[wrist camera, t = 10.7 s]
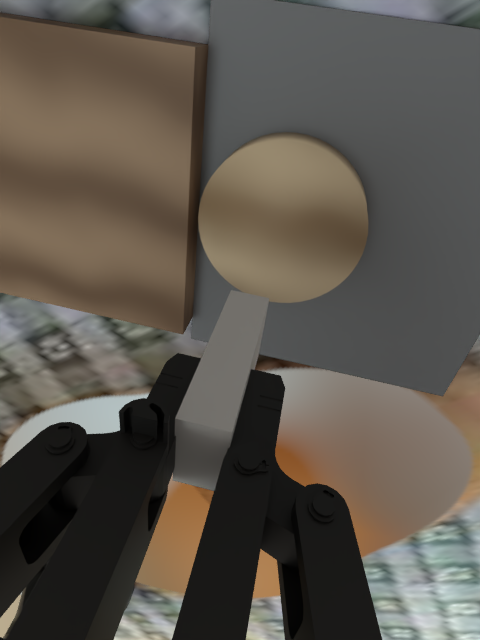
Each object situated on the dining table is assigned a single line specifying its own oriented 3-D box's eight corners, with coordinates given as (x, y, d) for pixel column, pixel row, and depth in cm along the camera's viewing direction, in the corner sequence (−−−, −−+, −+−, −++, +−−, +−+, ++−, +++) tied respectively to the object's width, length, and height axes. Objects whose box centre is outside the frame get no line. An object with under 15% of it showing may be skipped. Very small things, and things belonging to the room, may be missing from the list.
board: (194, 313, 29) (183, 334, 27) (-11, 267, 31) (-36, 284, 29) (210, 44, 20) (195, 47, 18) (-87, -1, 22) (-132, -4, 20)
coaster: (346, 296, 26) (346, 315, 24) (206, 273, 27) (197, 289, 25) (387, 143, 20) (390, 153, 19) (209, 122, 22) (199, 130, 20)
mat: (441, 392, 29) (442, 396, 28) (192, 335, 31) (191, 338, 30) (640, 52, 17) (646, 52, 17) (213, -8, 19) (211, -9, 18)
